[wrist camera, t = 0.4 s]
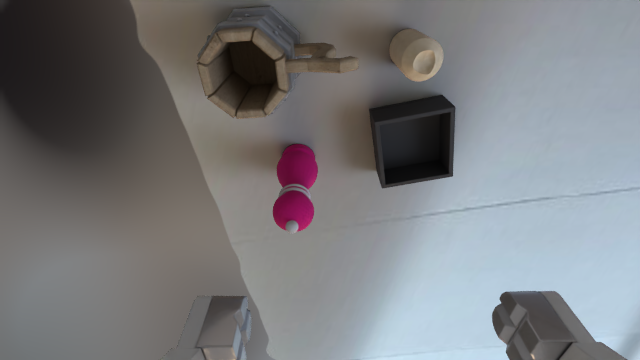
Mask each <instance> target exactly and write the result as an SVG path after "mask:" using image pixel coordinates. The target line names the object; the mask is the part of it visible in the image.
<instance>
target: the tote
mask: <svg viewBox="0 0 640 360" xmlns="http://www.w3.org/2000/svg"><path fill="white" fill-rule="evenodd" d="M369 112H370V120H371V128H372V136H373V144H374V153H375V161H376V169H377V174H378V177H379V180H380V183H381V187H382V188H387V187H393V186H399V185H405V184H411V183H417V182H423V181H428V180H434V179H440V178H446V177H452V176H453V155H454V128H455V106H454V105H453V104H452V103H450V102H449V101H448V100H447V99H446V98H445V97H444V96H443V95H439V96H434V97H429V98H424V99H419V100H414V101H409V102H404V103H399V104H394V105H389V106H384V107H379V108H374V109H369Z"/></svg>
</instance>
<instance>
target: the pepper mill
mask: <svg viewBox="0 0 640 360" xmlns="http://www.w3.org/2000/svg"><path fill="white" fill-rule="evenodd" d="M317 173H318V167H317V164H316V162H315V155H314V153H313V151H312V150H311V149H310V148H309V147H307V146H305V145H302V144H294V145H291V146H289V147H287V148H286V149H285V150H284V152H283V154H282V158H281V159H280V161H279V162H278V165H277V176H278V179H279V182H280V184H281V185H282V187H283V188H282V189H281V191H280V193H279V197H278V199H277V200H276V202H275V204H274V207H273V217H274V220H275V222H276V224H277V225H278V226H279V227H281V228H282V229H284V230H286V231H287V232H289V233H295V232H297V231H301V230H303V229H305V228H306V227H307V226H308V225H309V224H310V223H311V221H312V219H313V216H314V207H313V204H312V202H311V195H310V192H309V191H308V189H309V188H310V187H311V186H312V185H313V184H314V182H315V180H316V178H317Z"/></svg>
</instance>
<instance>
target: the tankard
mask: <svg viewBox="0 0 640 360" xmlns="http://www.w3.org/2000/svg"><path fill="white" fill-rule="evenodd" d="M303 55H312V57H311V58H302V56H303ZM335 57H336V49H335V47H334V46H333V45H331V44H327V43H307V44H300V34H299V32H298V31H297V30H296V29H295V28H294V27H293V26H292V25H291V24H290V23H289V22H288V21H287V20H285V19H284V18H283V17H282V16H281V15H280V14H279V13H278V12H277V11H276V10H275V9H274V8H273V7H272V6H267V7H253V8H238V9H233V11H232V12H231V14H230V15H229V17H228V18H227V20H226V21H222V22H220V23H218V24H217V26H216V28H215V29H214V31H213V32H212V34H211V35H210V36H207V42H206V43H205V45H204V46H203V48H202V49H201V51H200V53H199V54H198V60H197V61H198V63H197V66H198V70H199V74H200V78H201V81H202V85H203V89H204V93H205V96H208V95H209V96H208V98H207V99H208V100H210V101H211V102H213V103H214V104H215V105H217V106H218V107H219V108H221V109H222V110H223V111H225V112H226V113H228V114H229V115H230V116H232V117H233V118H234V117H235V116H236V119H241V118H257V117H266V116H267V115H268V116H269V115H270V114H273V112H274V111H275V110H276V109H277V108H278V106H279V105H280V104H281V103H282V102H283V101H285V100H286V97H287V96H288V95H289V93H290V92H291V91H292V90H293V89H294V86H295V79H296V78H297V76H298V75H299V74H300V73H301V72H328V73H344V72H348V71H353V70H357V69H358V58H356V57H352V56H349V57H344V58H340V59H338V58H335Z"/></svg>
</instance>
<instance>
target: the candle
mask: <svg viewBox="0 0 640 360" xmlns="http://www.w3.org/2000/svg"><path fill="white" fill-rule="evenodd" d="M389 53H390V57H391V59H392V61H393V62H394V63H395V65H396V66H397V67H398V68H399V69H400V70H401V71H402V72H403V73H404V75H405V76H406V77H407V78H409V79H410V80H413V81H425V80H427V79H429V78H431V77H433V76H434V75H435V74H436V73H437V72H438V70H439V69H440V67H441V65H442V62H443V50H442V47H441V45H440V44H439V43H438V42H437V41H436V40H434V39H432V38H430V37H428V36H427V35H425V34H423V33H421V32H419V31H417V30H414V29H405V30H402V31H400V32H399V33H397V34H396V35H395V36H394V38H393V39H392V41H391V43H390V47H389Z"/></svg>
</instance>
